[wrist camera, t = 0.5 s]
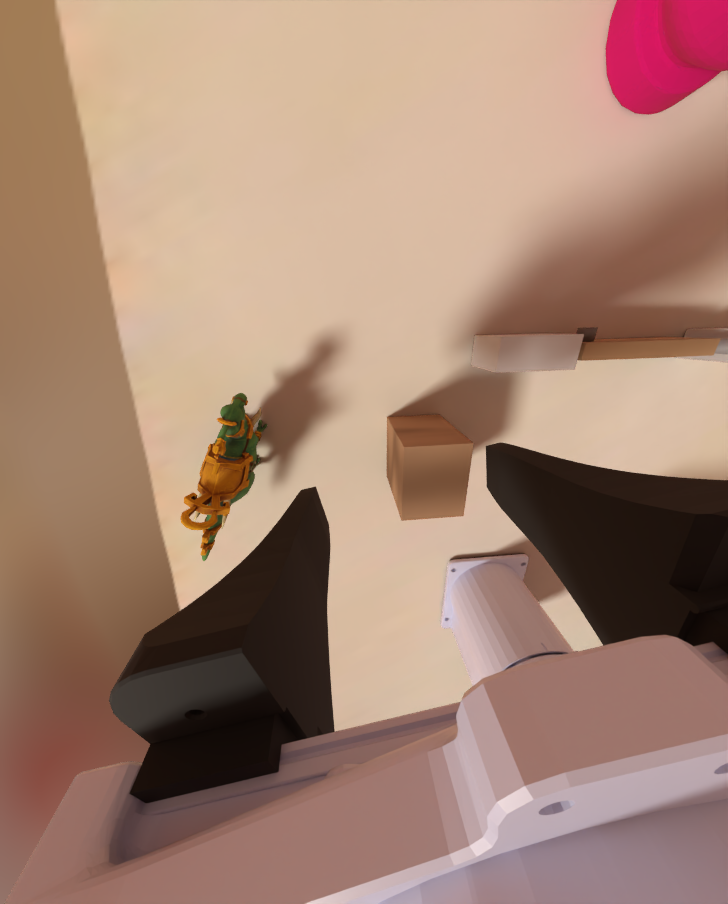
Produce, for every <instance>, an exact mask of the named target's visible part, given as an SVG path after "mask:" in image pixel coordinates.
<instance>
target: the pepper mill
mask: <svg viewBox="0 0 728 904" xmlns="http://www.w3.org/2000/svg"><path fill="white" fill-rule="evenodd" d="M606 66H607V77H608V80H609V83H610V86H611V89H612V92H613V94H614V95H615V97H616V98H617V100H618V101H619V102H620V104H621V105H622V106H623V107H625V108H627V109H629V110H630V111H632V112H634V113H638V114H654V113H658V112H661V111H663V110H665V109H667V108H669V107H671V106H673V105H675V104H676V103H678V102H679V101H681V100H682V99H684V98H685V97H687V96H688V95H690V94H691V93H693V92H694V91H695V90H697V89H698V88H700V87H701V86H703V85H704V84H706V83H707V82H709V81H710V80H711V79H713V78H714V77H715V76H716V75H717V74H719V73H720V72H721V71H726V70H728V0H617V2H616V5H615V8H614V10H613V13H612V17H611V20H610V26H609V32H608V38H607V44H606Z"/></svg>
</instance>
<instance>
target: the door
mask: <svg viewBox="0 0 728 904" xmlns="http://www.w3.org/2000/svg"><path fill="white" fill-rule="evenodd" d="M596 332H597V328H578V330H577V334H584V337H583V340H582V344H581V348H580V352H579V355H578V359H577V360H608V359H634V358H660V357H687V356H713V355H714V353H715V351H716V349H717V346H718V344H719V342H720V340H721V338H683V337H654V338H623V339H595V335H596Z"/></svg>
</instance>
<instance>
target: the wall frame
mask: <svg viewBox="0 0 728 904" xmlns="http://www.w3.org/2000/svg"><path fill="white" fill-rule="evenodd" d="M583 337H584V334H554V333H538V334H506V335H475V336H474V344H473V352H472V360H471V366H474V367H477V368H481V369H484V370H488V371H492V372H495V373H500V372H525V371H550V370H575V367H576V363H577V359H578V355H579V352H580V348H581V344H582V340H583ZM684 338H721V340H720V342H719V344H718V346H717V349H716V351H715V353H714V355H713V356H687V357H676V358H682V359H693V360H705V361H717V362H728V328H700V329H687V330H686V333H685V335H684Z"/></svg>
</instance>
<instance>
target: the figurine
mask: <svg viewBox="0 0 728 904" xmlns="http://www.w3.org/2000/svg"><path fill="white" fill-rule="evenodd" d="M247 403H248V401H247V397H246V396H245V395H244V394H243V393H239V394H237V395H236V396H235V397H233V398H232V401H231V404H230V405H226V406H224V407H222V409H221V413H220V414H221V416H222V418H218V419H217V420H218V422H220V423H221V424H223V426H222V428H221V430H220V432H219V435H218V437H217V439H216V441H215V443H213V444H210V445H209V447H208V452H207V454H206V457H205V459H204V462H203V464H202V467H201V471H200V477H201V478H200V481H199V483H198V491H199V492H200V494H199V497H198V498H197V495H196V494H195V493H192V494H190V495H188V496H186V497H184V503H185V504H186V505H188V506H189V507H190V509H188V510H186V511H184V512H183V513H182V515H181V523H182V524H183V525H184V526H185V527H187V528H189V529H191V530H203V533H204V534H203V536H202V544H201V547H200V548H202V552H201V555H202V559H203V561H205V560H206V559H207V557H208V555H209V553H210V550H211V549H212V547H213V545H214V542H215V540H214V539H215V537H216V534H217V532H218V530H219V529H220V528H221V527H222V528H223V526H224V523H225V521H226V518H227V515H228V514H229V511H230V506H231V504H232V503H234V502H236V501H237V500H239V499H241V498H242V497H243V496H244V495H246V494H247V493H248V491H249V489H250V488H251V486H252V484H253V481H254V479H255V474H254V472H253V470H254V468H255V466H256V465H257V464H258V462H260V458H258V459H257V453H256V445H257V443H258V441H259V440H260V438H261V432H262V431H263V430H264V429H265V428H266V427H267V424H265V425H264V426H263V427H262V421H261V420H260V421H259V423H258V427H257V431H255V433H254V432H253V427H254V425H255V424H256V422H257V421H258V419H259V417H260V416H261V408H260V409H259V411H258V412H257V414H256V415H254V416H253V417H252V418H251V420H250V419H249V417H248V416H247V415H246V414H245V410H244V405H247ZM256 459H257V461H256ZM194 511H196V514H195V518H194V521H195V520H196V518H197V517H198V516H199V514H200V513H202V514H207V517H206V519H205V522H202V523H197V522H194V521H191V520H190V518H189V517H190V515H191V514H192V513H193V512H194Z"/></svg>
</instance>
